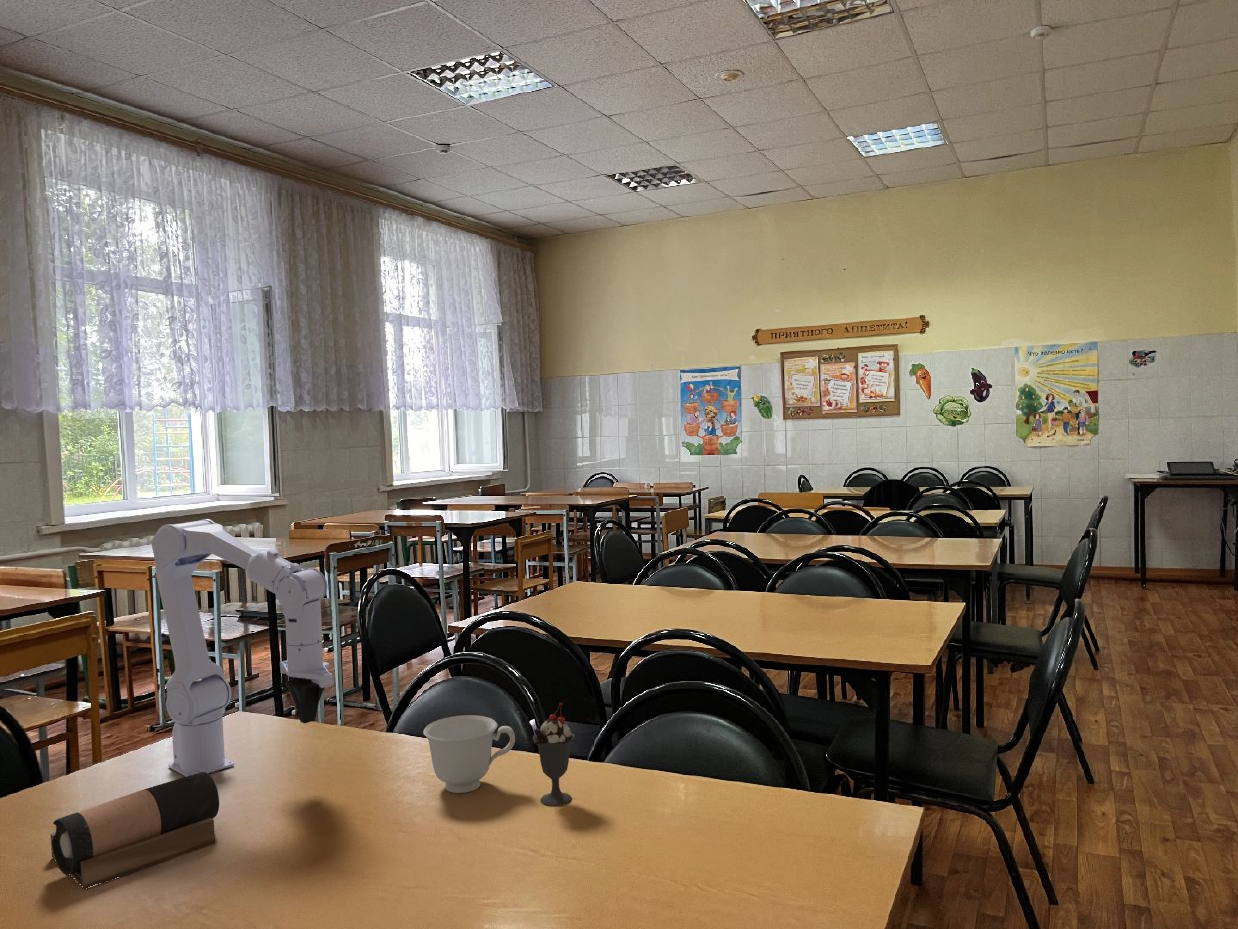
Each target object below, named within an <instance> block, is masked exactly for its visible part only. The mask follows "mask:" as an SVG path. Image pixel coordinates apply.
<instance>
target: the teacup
mask: <svg viewBox="0 0 1238 929" xmlns="http://www.w3.org/2000/svg"><path fill="white" fill-rule="evenodd" d="M497 728H498V723H497V722H496V720H494V719H493V718H491V717H487V716H483V715H476V714H475V715H473V714H469V715H467V714H464V715H454V716H449V717H444V718H441V719H438V720H435V721H432V722H430V723H429V724H428V725H426V727H425V728H424V729H423V732H422V733H423V735H424V736H425V737H426V738H427V740H428V745H429V750H430V755H431V762H432V768H433V771H434V774H435V776H436V778H437V779H438V780H440V781H441V782H443V783H445V790H446V791H447V792H450V793H452V794H464V793H466V794H467V793H470V792H473V791H475V790H477V789H479V787H480V786H481V781H480V780H481V779H483V778H484V777H485V776H486V774H487V773H488V771H489V769H490V766H491V764H492V763H493V762H494V760H495V759H496V758H498V757H500V756H503V755H505V754H507V753H508V752H510V751H511V750H512V749H513V747H514V745H515V742H516V736H515V732H514V730H513V728H512V727H511V726H508V725H501V726H500V727H499V728H498V729H497ZM496 729H497V731H496ZM495 731H496V732H497V733H495ZM501 734H507V735H508V736H509V742H508V744H506V746H505V747H503V748H501V749H498V750H497V751H496V752H495V753H493V754H492V750H493V740H495V741H496V742H498V741H499V739H500V737H501Z"/></svg>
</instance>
